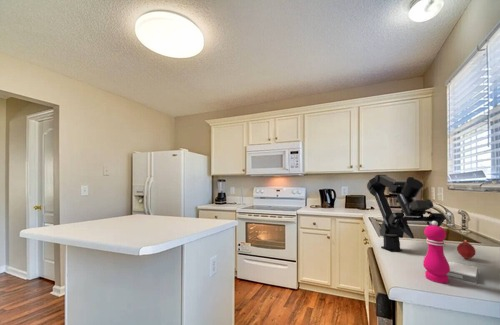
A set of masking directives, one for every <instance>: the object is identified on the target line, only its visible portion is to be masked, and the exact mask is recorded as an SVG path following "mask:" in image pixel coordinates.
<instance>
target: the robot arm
mask: <svg viewBox="0 0 500 325" xmlns="http://www.w3.org/2000/svg"><path fill="white" fill-rule="evenodd" d="M366 187H367V190H368V192H369V193H370V194H371V195H372V196H374V198H375V201H376V203H377V206H378V208H379V211H380V213H381V216H382V219H383V220H382V223H381V227H380V229H379V235H380V236H381V237H383V245H382V246H381V249H384V250H386V251H388V252H393V253H394V252H402V251H403V249H401V241H400V238H401V239H402V238H404V235H405V234H406V236H408V237H409V238H410V239H414V238H415V237H414V233H413V232H412V229H411V228H410V226H409V224H408V222H413V223H414V222H415V223H416V222H417V223H426V224H427V226H430V225H432V221H436V222H437V223H438V225H437V226H440V227H441V226H442V224H443V223H444V222H445V221H446V219H447V218H446V215H444V213H441V212H431V213H430V214H429V216H424V215H425V214H426V213H427V212H426V211H427V210H430V209H432V208H433V207H434V203H433V201H432V200H431V199H425V200H424V199H423V200H422V199H416V200H415V199H414V198H416V197H418V196H419V194H420V192H421V190H422V189H423V187H424V184H423V182H422V181H420V180H418V179H416V178H414V177H412V176H408V177H407V178H406V180H405V181H404V180H396V179H394V178H392V177H390V176H388V175H387V174H375V176H374V177H373V178H371V179H369V180H368V182H367V184H366ZM386 188H388V192H390V193H391V194H392V195H397V196H396V199H395V203H396V204H397V203H399V205H400V208H401V210H400V212H399V211H392V208H391V206H390V204H389V203H390V202H389V201H388V199H387V197H386V194H385V191H386Z"/></svg>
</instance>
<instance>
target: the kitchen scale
mask: <svg viewBox="0 0 500 325" xmlns="http://www.w3.org/2000/svg"><path fill="white" fill-rule="evenodd" d="M447 261H448V260H447ZM448 264H449V267H450V271H449V273H447V274H446V275H447V276H448V278H449V277H450V278H454V279H458V280H461V281H465V282H469V283H474V284H477V283H478V277H479V268H478V267H476V266H472V265H466V264H463V263H457V262H453V261H448Z"/></svg>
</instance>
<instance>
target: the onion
mask: <svg viewBox="0 0 500 325" xmlns="http://www.w3.org/2000/svg"><path fill="white" fill-rule="evenodd" d="M456 250H457V252H458V254H459V255H460V256H461V257H462V258H463V259H465V260H469V259H471V258H473V257H474V256H475V255H476V253H477V252H476V249H475V248H474V246H473V245H472V244H471V243H469V242H468V241H467V240H466V239H464V240H463V242H460V243H459V244H458V245H457V246H456Z"/></svg>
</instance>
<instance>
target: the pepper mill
mask: <svg viewBox="0 0 500 325" xmlns="http://www.w3.org/2000/svg"><path fill="white" fill-rule="evenodd" d="M437 225H438V223H437V222H436V221H432V225H430V226H429V225H427V226H426V227H425V228H424V232H423V233H424V235H425V236H426V241H425V242H426V243H427V253H426V255H425V256H424V258H423V268H425V271H424V276H425V279H427V280H429V281H431V282H435V283H438V284H447V283H449V276H447V275H446V274H447V273H449V271H450V267H449V264H448V260H447V258H446V257H445V253H444V246H445V245H446V244H445V240H444V239H445V238H446V237H447V232H446V229H444V228H443V227H442V226H441V225H440V226H437Z"/></svg>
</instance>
